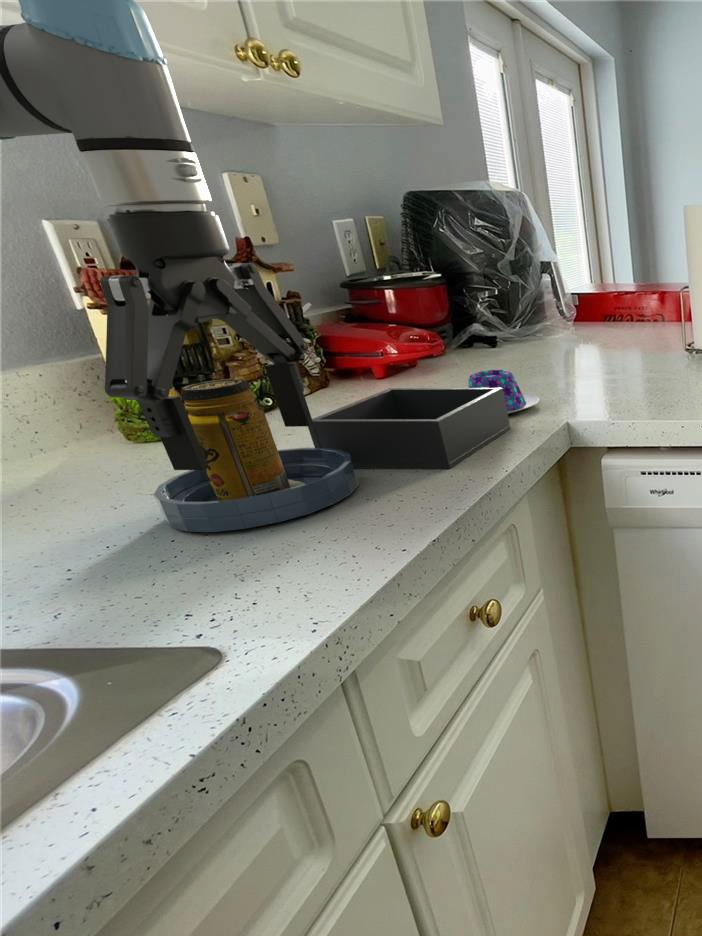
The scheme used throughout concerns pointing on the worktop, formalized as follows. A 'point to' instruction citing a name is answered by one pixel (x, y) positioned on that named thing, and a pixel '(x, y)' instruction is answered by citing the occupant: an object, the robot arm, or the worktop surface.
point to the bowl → (199, 510)
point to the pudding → (510, 388)
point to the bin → (414, 427)
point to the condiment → (234, 439)
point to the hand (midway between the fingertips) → (250, 445)
